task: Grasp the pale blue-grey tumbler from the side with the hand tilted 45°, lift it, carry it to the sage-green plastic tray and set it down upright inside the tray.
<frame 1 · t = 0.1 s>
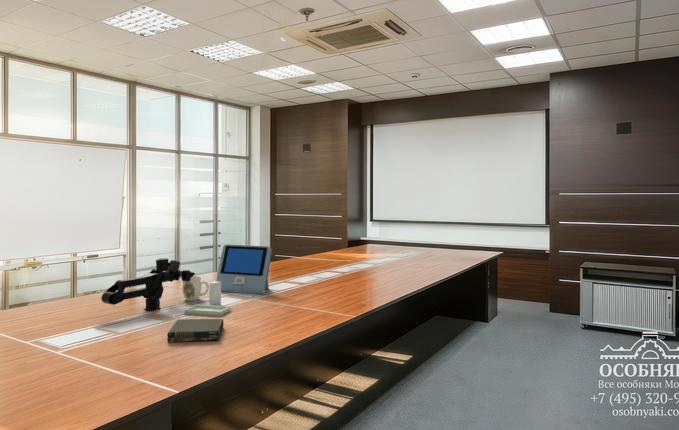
hand: (189, 272, 270), 17 cm above the table, fingers open, 9 cm apart
touchscreen device: (245, 290, 302), on the table
network switch: (196, 336, 204), on the table
tray: (207, 312, 243), on the table
pitcher: (193, 299, 274), on the table
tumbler: (215, 305, 260), on the table
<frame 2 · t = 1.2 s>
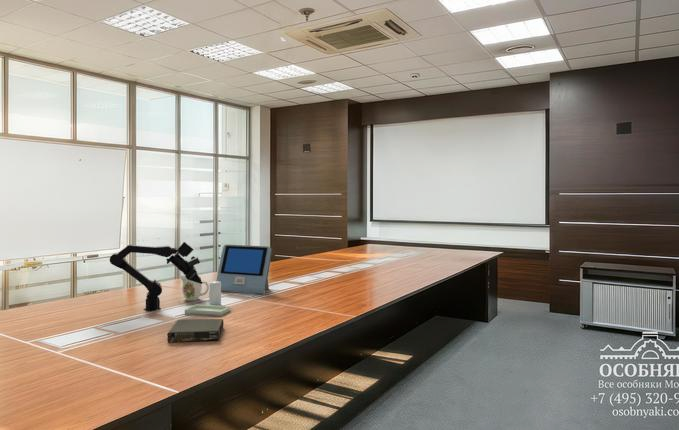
hand: (201, 281, 257), 14 cm above the table, fingers open, 9 cm apart
nothing on the table moved.
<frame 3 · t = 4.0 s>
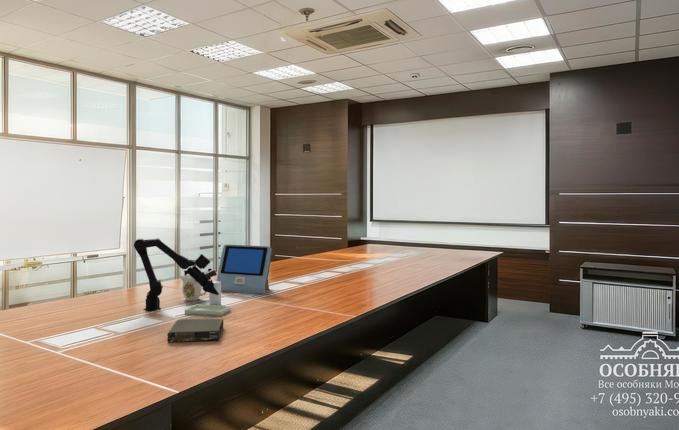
hand: (217, 293, 260), 7 cm above the table, fingers closed on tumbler, 6 cm apart
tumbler: (215, 305, 260), on the table, touching gripper
everything else where it was.
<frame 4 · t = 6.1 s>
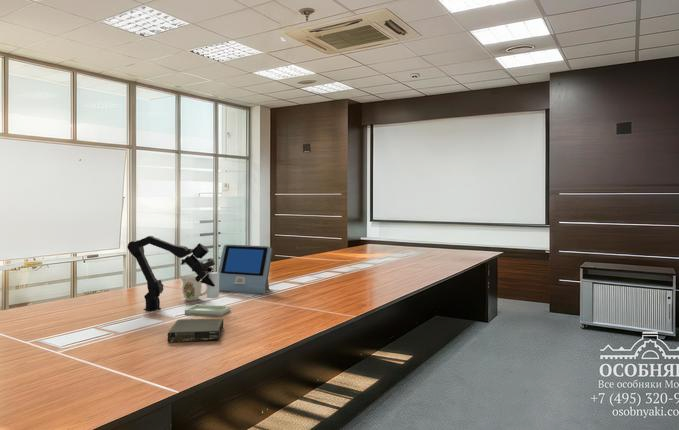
hand: (215, 284, 250), 13 cm above the table, fingers closed on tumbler, 6 cm apart
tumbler: (213, 296, 250), point 7 cm above the table, touching gripper
everything else where it was.
when the fingers open (9 cm above the table, at t = 8.2 s): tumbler drops 1 cm, resting on tray.
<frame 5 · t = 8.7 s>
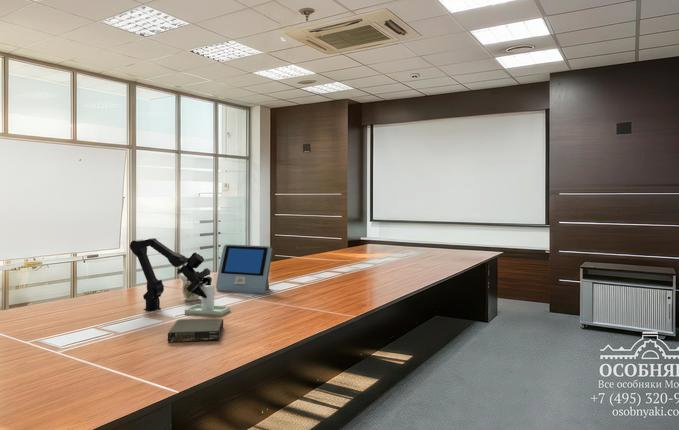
hand: (210, 295, 243), 9 cm above the table, fingers open, 9 cm apart
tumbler: (207, 310, 243), point 1 cm above the table, touching tray
everything else where it was.
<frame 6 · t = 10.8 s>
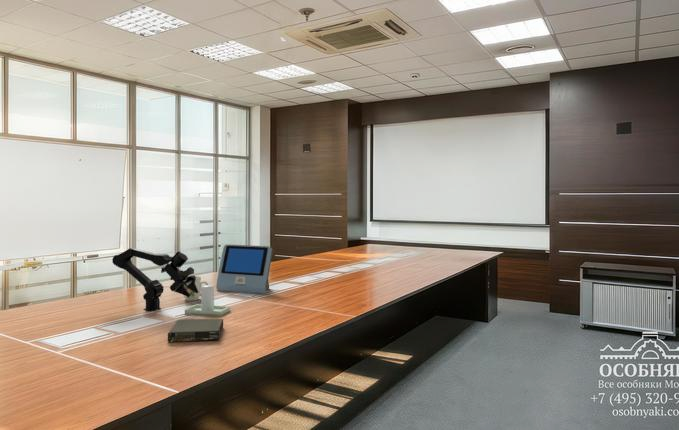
hand: (193, 294, 244), 9 cm above the table, fingers open, 9 cm apart
nothing on the table moved.
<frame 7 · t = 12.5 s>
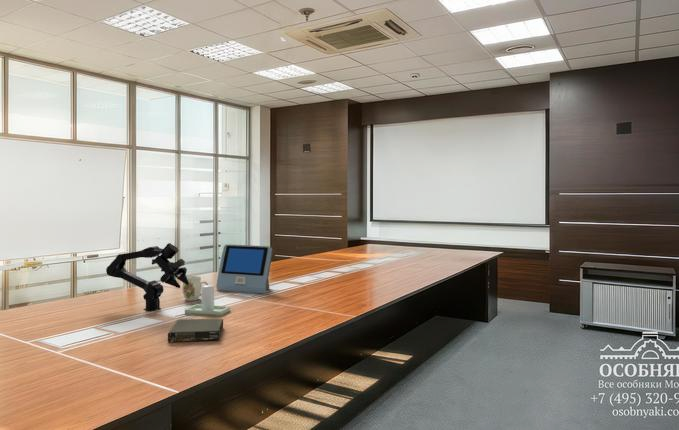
hand: (184, 286, 245), 14 cm above the table, fingers open, 9 cm apart
nothing on the table moved.
at the end: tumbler inside the target area on the tray (0.1 cm from its centre), point 1.0 cm above the tray's base; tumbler tilted 1°; the gripper is holding nothing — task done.
